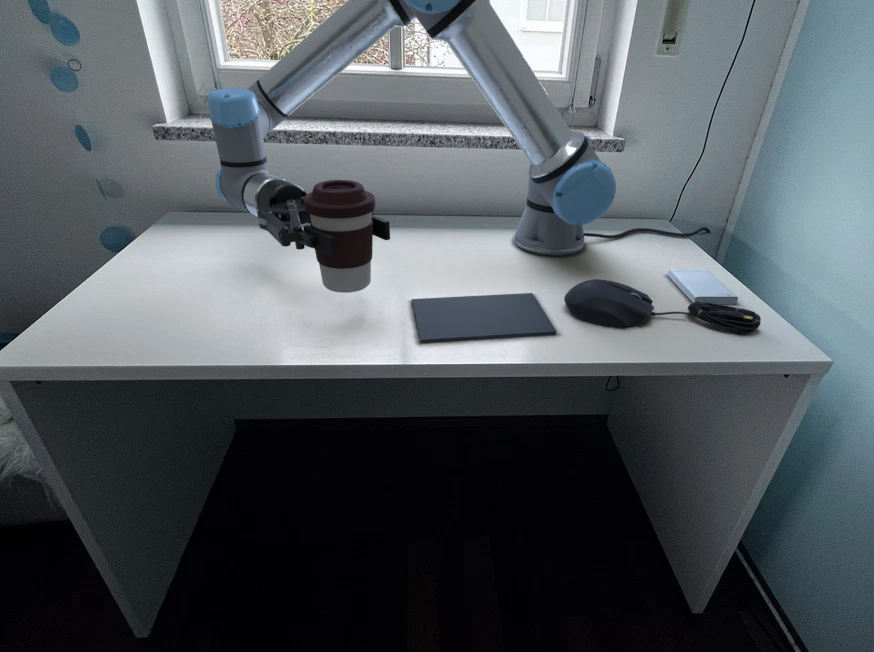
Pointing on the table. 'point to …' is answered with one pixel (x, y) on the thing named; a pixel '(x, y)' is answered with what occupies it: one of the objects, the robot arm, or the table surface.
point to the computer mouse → (645, 307)
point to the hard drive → (702, 286)
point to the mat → (480, 317)
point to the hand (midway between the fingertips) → (361, 238)
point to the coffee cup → (343, 232)
